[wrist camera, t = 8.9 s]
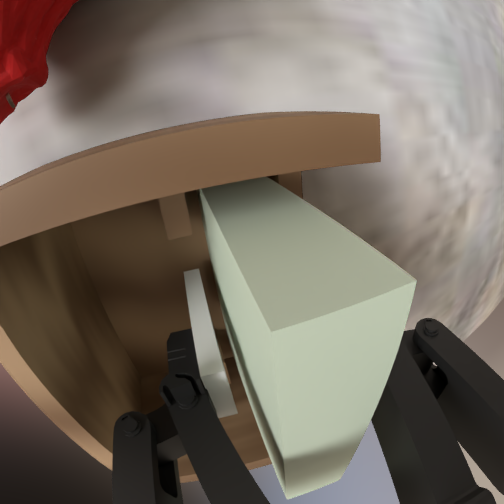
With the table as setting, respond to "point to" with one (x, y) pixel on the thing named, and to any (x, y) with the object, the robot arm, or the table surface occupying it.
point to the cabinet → (139, 262)
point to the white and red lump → (26, 46)
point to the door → (303, 323)
